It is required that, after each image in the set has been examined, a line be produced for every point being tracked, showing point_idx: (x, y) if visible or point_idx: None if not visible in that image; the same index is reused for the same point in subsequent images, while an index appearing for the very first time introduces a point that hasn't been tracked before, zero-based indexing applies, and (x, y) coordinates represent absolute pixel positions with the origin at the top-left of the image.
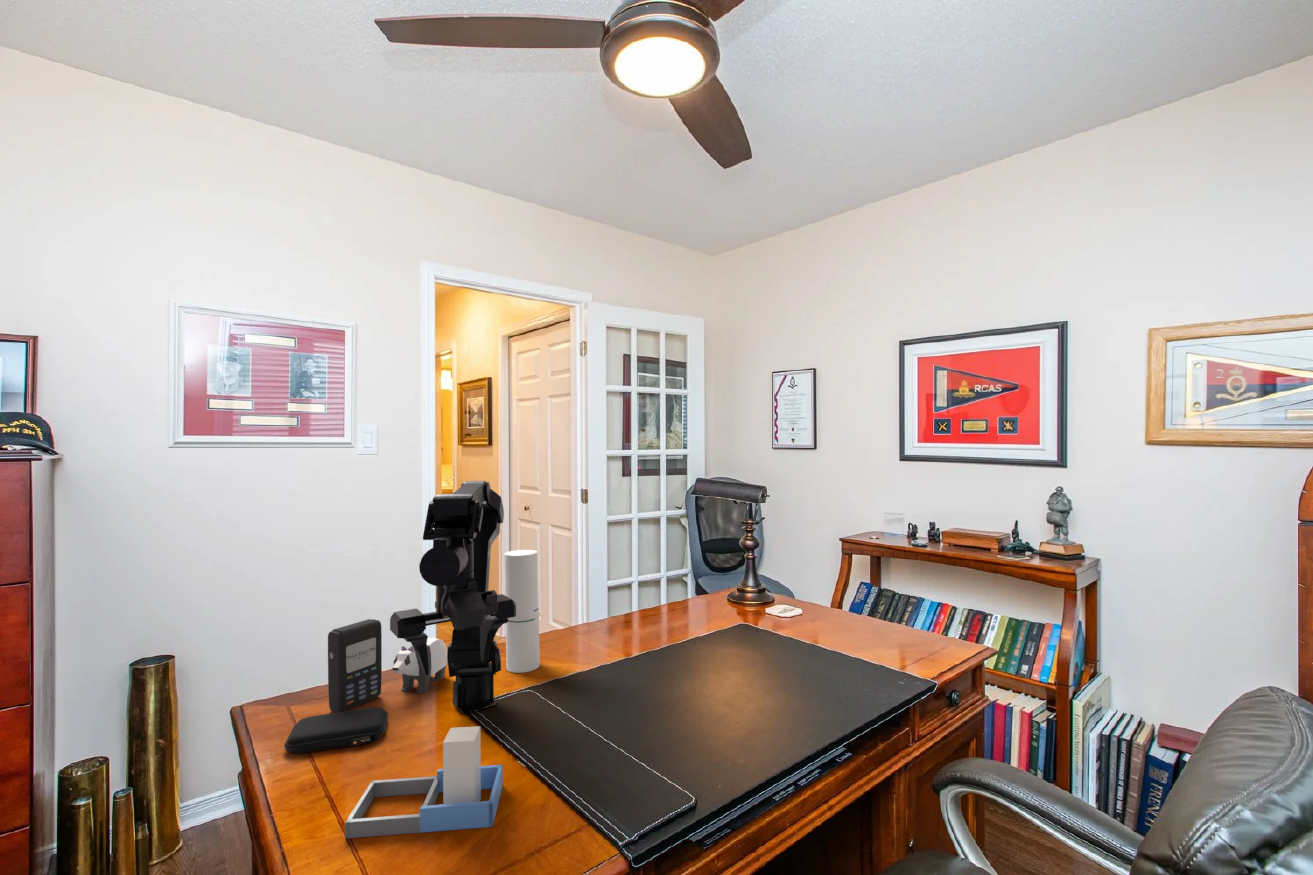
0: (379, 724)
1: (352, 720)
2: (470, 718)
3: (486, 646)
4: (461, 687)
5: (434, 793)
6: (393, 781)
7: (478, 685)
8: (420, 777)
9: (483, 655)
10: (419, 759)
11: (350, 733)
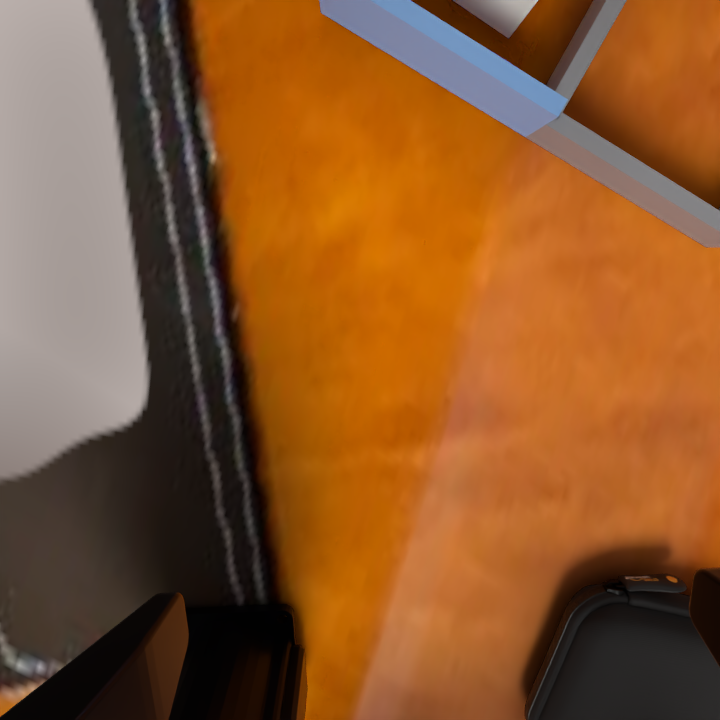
0: (596, 631)
1: (670, 697)
2: (277, 568)
3: (64, 716)
4: (278, 714)
5: (580, 39)
6: (687, 193)
7: (207, 695)
8: (601, 158)
9: (155, 640)
10: (511, 385)
11: (687, 624)
